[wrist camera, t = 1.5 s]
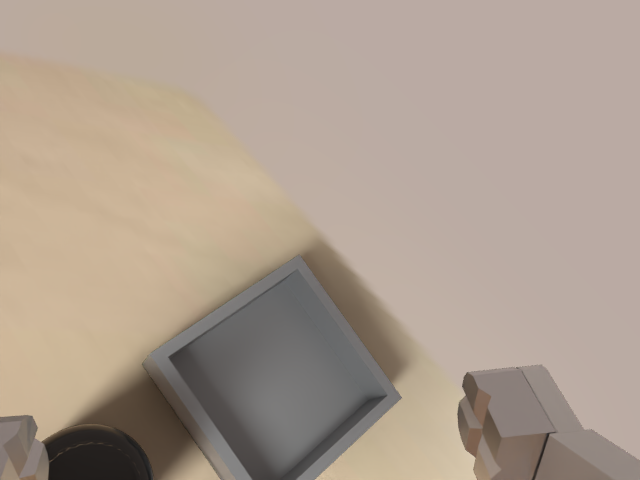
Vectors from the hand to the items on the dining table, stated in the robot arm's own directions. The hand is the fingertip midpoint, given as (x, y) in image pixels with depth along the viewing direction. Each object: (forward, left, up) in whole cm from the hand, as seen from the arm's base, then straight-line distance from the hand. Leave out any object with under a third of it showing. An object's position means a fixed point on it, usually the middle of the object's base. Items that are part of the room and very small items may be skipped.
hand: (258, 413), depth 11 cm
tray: (+2, +11, -31) cm, 33 cm away
